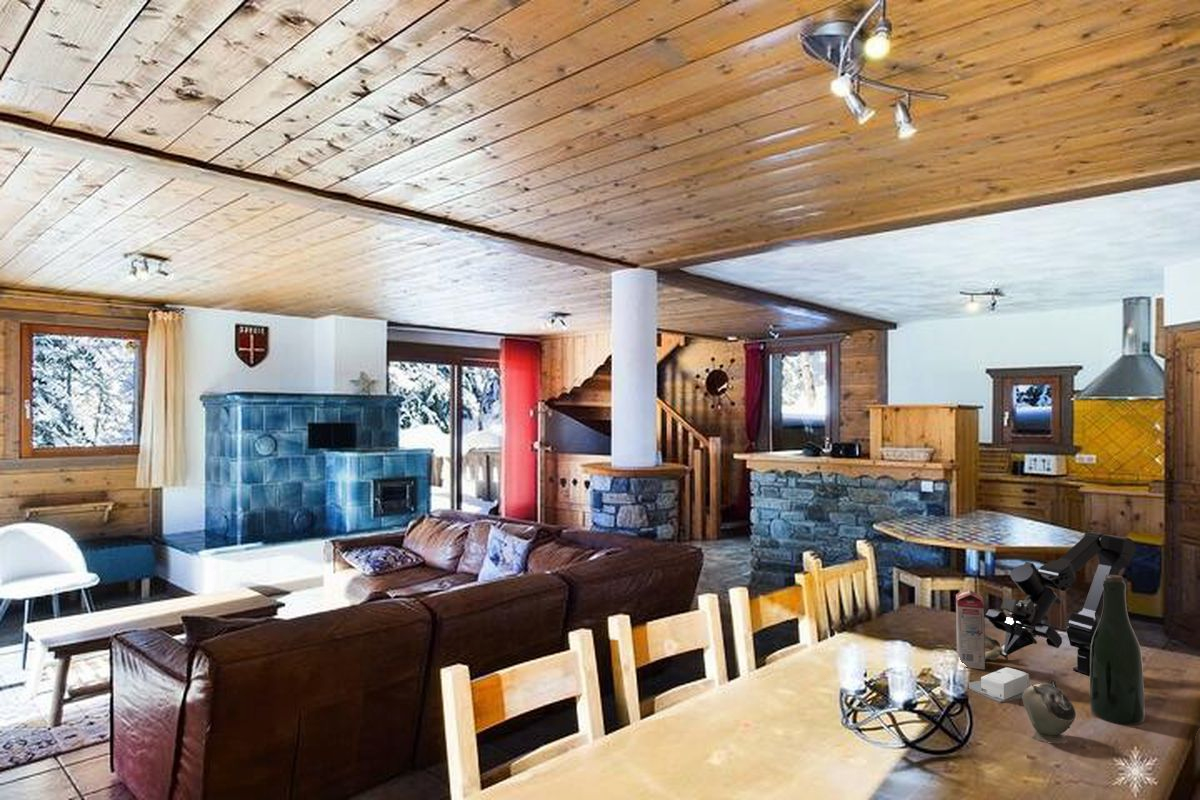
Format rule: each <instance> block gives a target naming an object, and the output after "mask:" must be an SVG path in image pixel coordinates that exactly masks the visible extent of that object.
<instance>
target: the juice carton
mask: <svg viewBox="0 0 1200 800" xmlns="http://www.w3.org/2000/svg"><path fill="white" fill-rule="evenodd" d="M955 611H956V613H955V615H956V617H955V618H956V621H955V622H956V653H957V652H958V654H959V657H960V660H961V662H962V663H964V664H965V665H966V666H967V667H968V668H967V669H976V670H986V660H985V652H986V648H985V635H986V633H985V632H986V630H985V629H986V627H985V626H986V625H985V621H986V620H985V601H984V598H983V597H982V596H981V595H980V594H978V593H976V592H974V591H973V590H971V587H970V585H969V583H967V589H965V590H963V591H960V592H958V593H956V594H955Z"/></svg>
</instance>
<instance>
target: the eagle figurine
mask: <svg viewBox="0 0 1200 800" xmlns="http://www.w3.org/2000/svg"><path fill="white" fill-rule="evenodd" d="M1004 646H1005V644H1003V645H1002V646H1001V644H1000V642H999V641H998V640H997V639H994V638H991V636H990V637H989V635H986V634H985V649H989V651H988V650H987V651H985V661H986V660H989V659H994V658H995V659H997V658H999V657H1000V656H1002V657H1003V658H1004V659H1005V660H1006V661H1007V660H1008V661H1009V657H1008V656H1009V655H1011V654H1009V655H1008V654H1005V653H1004Z"/></svg>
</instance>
